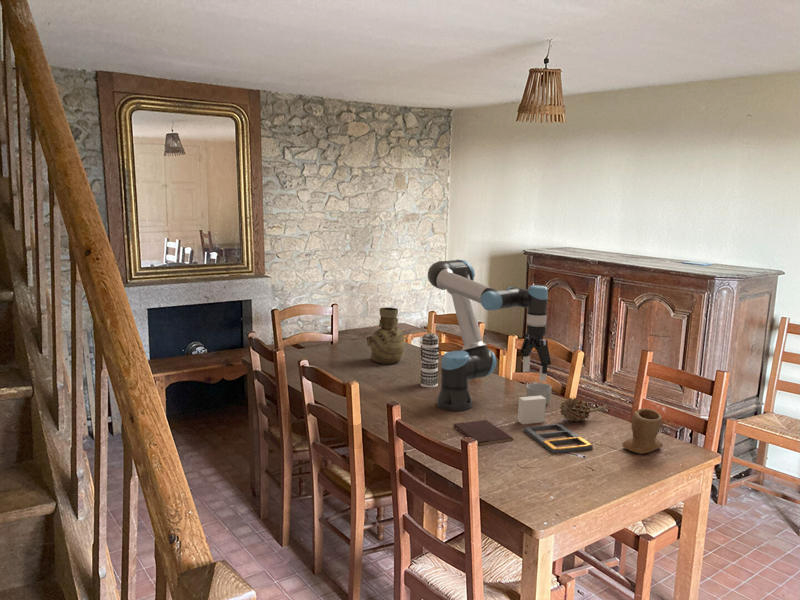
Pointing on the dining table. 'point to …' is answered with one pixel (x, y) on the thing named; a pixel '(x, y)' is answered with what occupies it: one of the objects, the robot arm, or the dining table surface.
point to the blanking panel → (531, 409)
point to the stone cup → (644, 431)
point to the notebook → (483, 432)
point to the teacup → (539, 390)
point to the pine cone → (577, 409)
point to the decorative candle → (429, 360)
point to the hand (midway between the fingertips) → (534, 376)
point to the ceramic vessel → (387, 338)
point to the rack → (550, 443)
